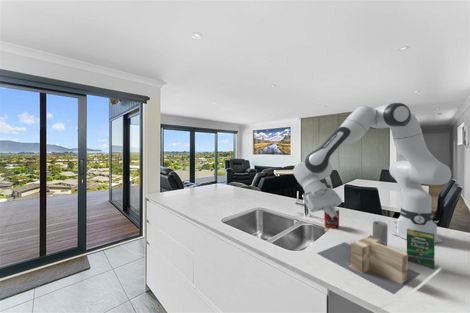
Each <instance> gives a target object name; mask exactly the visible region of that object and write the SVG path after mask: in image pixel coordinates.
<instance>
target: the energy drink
mask: <svg viewBox="0 0 470 313" xmlns="http://www.w3.org/2000/svg"><path fill="white" fill-rule="evenodd" d="M388 227H389V225H388V224H387V223H386V222H384V221H380V220H379V221H378V220H375V221H373V222H372V236H374V237H377V238H380V239H382V245H384V246H387V247H388V230H389V229H388Z"/></svg>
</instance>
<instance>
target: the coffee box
mask: <svg viewBox="0 0 470 313" xmlns="http://www.w3.org/2000/svg"><path fill="white" fill-rule="evenodd" d="M435 250H436V248H435V243H434V234H432V233H426V232H422V231H417V230H413V229H407V240H406V254H408V262H410V263H413V264H416V265H418V266H422V267H426V268H428V269H431V270H434V269H435V265H436V264H435Z"/></svg>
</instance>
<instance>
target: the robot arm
mask: <svg viewBox="0 0 470 313" xmlns="http://www.w3.org/2000/svg"><path fill="white" fill-rule="evenodd" d="M386 128H387V129H388V128H389V129H390V131H391V136H392V139H393V143H394V147H395V150H396V153H397V154H398V155H400V156H402V157H404V158H405V160H397V161H396V160H395V161H393V162H392V163H391V164H390V166H389V170H388V171H389V174H390V176H391V177H392V178H393V179H394V180H395V181H396V183H397V185H398V187H399V190H400V193H401V207H400V215H399V217H398V218H397V219H394V221H393V222H394V224H393V225H392V226H393V227H392V232H391V235H393V236H397V237H399V238H401V239H404V240H406V241H407V229H413V230H417V231H422V232H426V233H432V234H434V244H436V243H442V239H441V238H440V237H438V229H437V228H438V226H437V224H436V223H435V222H434V221H433V218H434V215H433V212H432V203H433V201H432V200H433V198H432V195H431V194H430V193H429V192H428V191H426V190H425V189H424V187H423V186H422V185H428V186H442V185H445V184H448V183H449V181H450V180H451V178H452V170H451V169H450V167H449V166H448V165H447V164H445V163H443V162H441V161H439V159H437V158H436V157H435V156H434V155H433V154H432V153H431V151H430V150H429V149H428V146H427V144H426V141H425V138H424V134H423V131H422V128H421V124H420V122H419V120H418V119H417V116H416V115H415V114H414V113H413V112H411V109H410V108H409V106H407V105H406V104H405V103H402V102H393V103H388V104H382V105H380V106H376V107H371V106H368V105H360V106H359V107H357V108H355V109H354V110H353V111H352V112H351V113H350V114H349V115H348V116H347V117H346V119H344V121H343V122H342V124H341V125H340V126H339V127H337V129H336V130H334V132H332V133H331V135H330V136H328V138H326V139H325V140H324V142H323V143H322V144H321V145H320V146H319V147H318V148H317V149H314V150H312V151H311V152H310V153H308V154H307V156H306V157H305V160H304V161H301V162H298V163H297V164H296V165H295V166H294V167H293V169H292V173H293V176H294V177H295V179H296V181H297V183H298V184H299V185H300V186H301V187H302V189H303V192H304V193H303V194H302V196H301V197H302V199H303V202H304V204H305V206H306V207H307V209H308V211H309V212H311V213H316V212H320V211H323V212H326V213H327V214H329V216H330V217H335V216H337V213H336V212H335V208H334V207H338V206H339V205H341V204H342V203H343V200H342V198H341V197H340V196H339V194H338V193H337V192H336V191H335V190H334V189H333V187H332V185H331V184H327V183H324V182H321V181H322V180H324V179H327V178H328V177H330V176H331V174H332V173H333V166H332V164H331V162H330V160H331V156H332V155H333V154H334V153H335V152H337V150H338V149H339V148H340V146H342V145H343V144H344V143H346V144H355V143H357V142H358V141H359V140H361V139H362V138H363V137H364V136H365V134H366V133H367V132H368V131H369V129H386ZM330 210H331V211H330Z"/></svg>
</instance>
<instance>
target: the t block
mask: <svg viewBox="0 0 470 313" xmlns="http://www.w3.org/2000/svg"><path fill="white" fill-rule="evenodd" d="M350 245H351V267H352V268H354V269H356V270H358V271H360V272H364V271H366V270H367V269H371V270H374V271H376V272H378V273H380V274H382V275H384V276H386V277H388V278H390V279H392V280H394V281H397V282H399V283H401V284H403V283H404V282H405V281H407V269H409V268H408V264H409V263H408V262H409V261H408V254H407V252H404V251H400V250H399V249H395V248H392V247H389V246H388V245H387V246H384V245H382V239H380V238H377V237H374V236H373V235H369V236H367V237H363V238H361V239H359V240H356V241H354V242H351V243H350Z"/></svg>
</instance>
